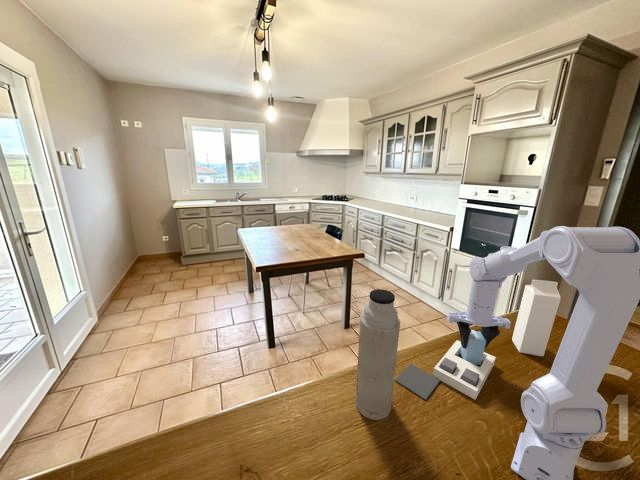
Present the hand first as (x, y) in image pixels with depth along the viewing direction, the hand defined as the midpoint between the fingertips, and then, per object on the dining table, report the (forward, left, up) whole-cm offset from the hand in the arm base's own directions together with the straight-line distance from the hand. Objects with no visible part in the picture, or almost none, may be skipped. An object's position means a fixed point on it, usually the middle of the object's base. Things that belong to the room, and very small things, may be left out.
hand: (472, 347), depth 71 cm
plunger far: (-9, +3, -5) cm, 10 cm away
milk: (+19, -10, -5) cm, 22 cm away
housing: (-4, 0, -5) cm, 7 cm away
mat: (-16, +7, -5) cm, 19 cm away
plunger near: (-9, -3, -5) cm, 10 cm away
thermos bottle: (-30, +11, -5) cm, 32 cm away
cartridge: (0, 0, -4) cm, 4 cm away
